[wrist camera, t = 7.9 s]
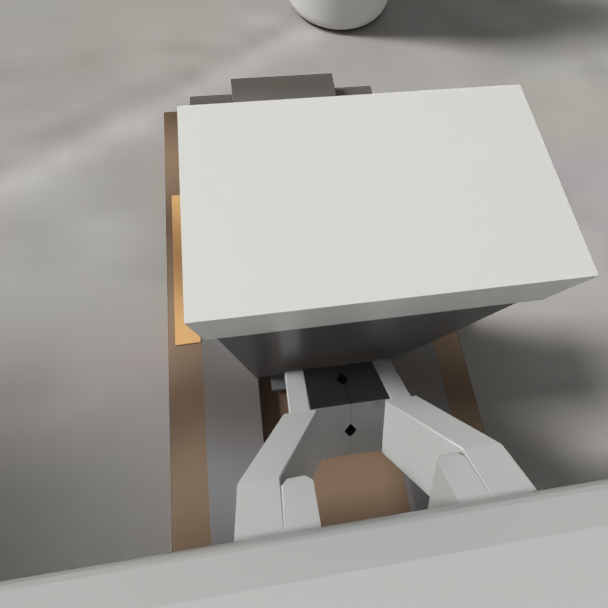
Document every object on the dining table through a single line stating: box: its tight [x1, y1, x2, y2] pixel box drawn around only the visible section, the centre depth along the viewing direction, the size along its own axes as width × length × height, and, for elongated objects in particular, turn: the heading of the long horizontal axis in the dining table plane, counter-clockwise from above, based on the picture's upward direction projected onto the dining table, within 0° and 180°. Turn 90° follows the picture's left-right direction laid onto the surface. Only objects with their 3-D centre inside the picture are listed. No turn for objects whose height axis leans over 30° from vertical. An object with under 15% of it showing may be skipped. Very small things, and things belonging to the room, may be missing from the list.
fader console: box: [164, 73, 484, 552], centre depth 14 cm, size 30×12×4 cm, turn 8°
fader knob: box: [177, 85, 599, 392], centre depth 9 cm, size 4×5×10 cm
